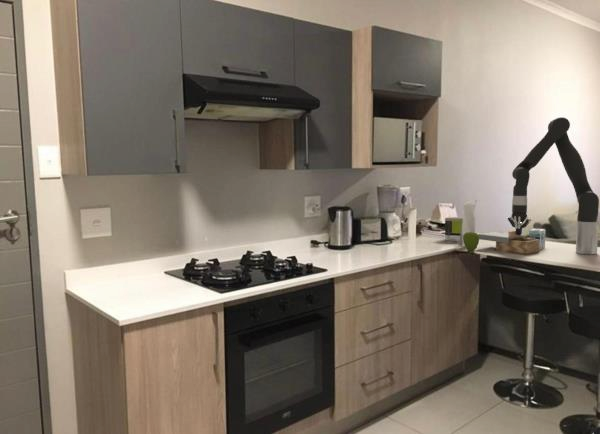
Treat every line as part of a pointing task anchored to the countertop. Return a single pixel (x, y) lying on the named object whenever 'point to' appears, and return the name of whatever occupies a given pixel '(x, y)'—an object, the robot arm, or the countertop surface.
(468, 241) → the green faceted ovoid
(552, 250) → the countertop surface
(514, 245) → the wooden box
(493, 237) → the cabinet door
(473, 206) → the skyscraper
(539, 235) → the light bulb box
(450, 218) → the tea box
